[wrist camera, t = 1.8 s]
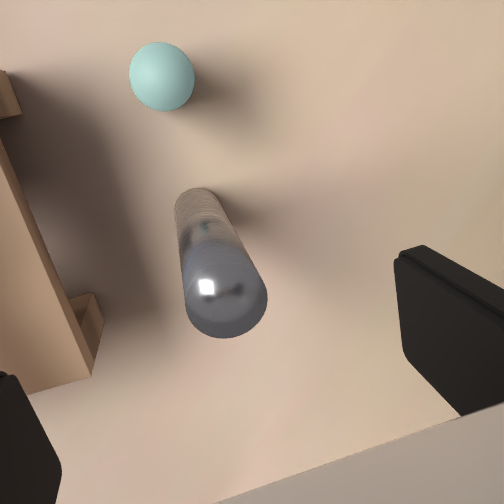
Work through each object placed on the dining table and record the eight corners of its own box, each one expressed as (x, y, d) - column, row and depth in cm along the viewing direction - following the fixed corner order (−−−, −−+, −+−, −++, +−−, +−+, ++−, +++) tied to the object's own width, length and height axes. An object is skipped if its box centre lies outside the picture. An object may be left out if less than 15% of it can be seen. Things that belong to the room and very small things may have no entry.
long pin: (214, 183, 25) (258, 253, 14) (225, 226, 26) (274, 325, 15) (168, 194, 25) (175, 276, 13) (181, 238, 25) (198, 348, 14)
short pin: (179, 48, 22) (184, 35, 18) (193, 101, 23) (201, 103, 19) (128, 59, 22) (120, 50, 17) (144, 113, 23) (140, 117, 18)
